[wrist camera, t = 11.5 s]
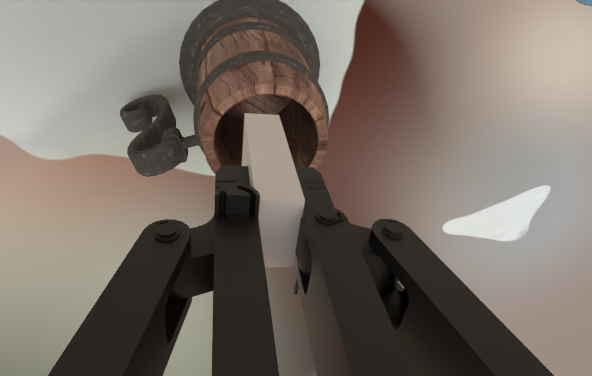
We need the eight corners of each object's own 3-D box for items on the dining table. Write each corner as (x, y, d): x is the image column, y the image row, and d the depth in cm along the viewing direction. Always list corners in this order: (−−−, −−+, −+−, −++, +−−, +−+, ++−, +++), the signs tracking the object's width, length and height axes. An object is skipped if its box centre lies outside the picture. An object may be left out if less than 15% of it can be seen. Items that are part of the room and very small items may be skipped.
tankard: (303, -26, 44) (353, 5, 27) (330, 113, 53) (380, 198, 37) (97, 33, 44) (21, 99, 27) (161, 161, 53) (134, 268, 37)
